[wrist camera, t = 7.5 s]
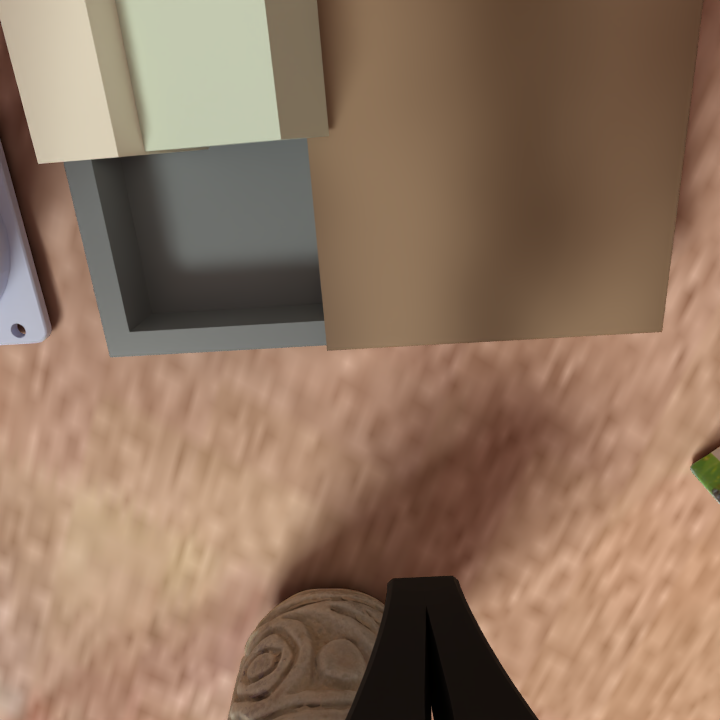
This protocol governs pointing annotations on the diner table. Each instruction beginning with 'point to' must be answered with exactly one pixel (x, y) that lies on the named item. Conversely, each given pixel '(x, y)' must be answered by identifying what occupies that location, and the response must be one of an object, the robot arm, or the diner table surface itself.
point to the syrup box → (709, 472)
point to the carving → (307, 657)
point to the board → (499, 167)
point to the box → (202, 248)
